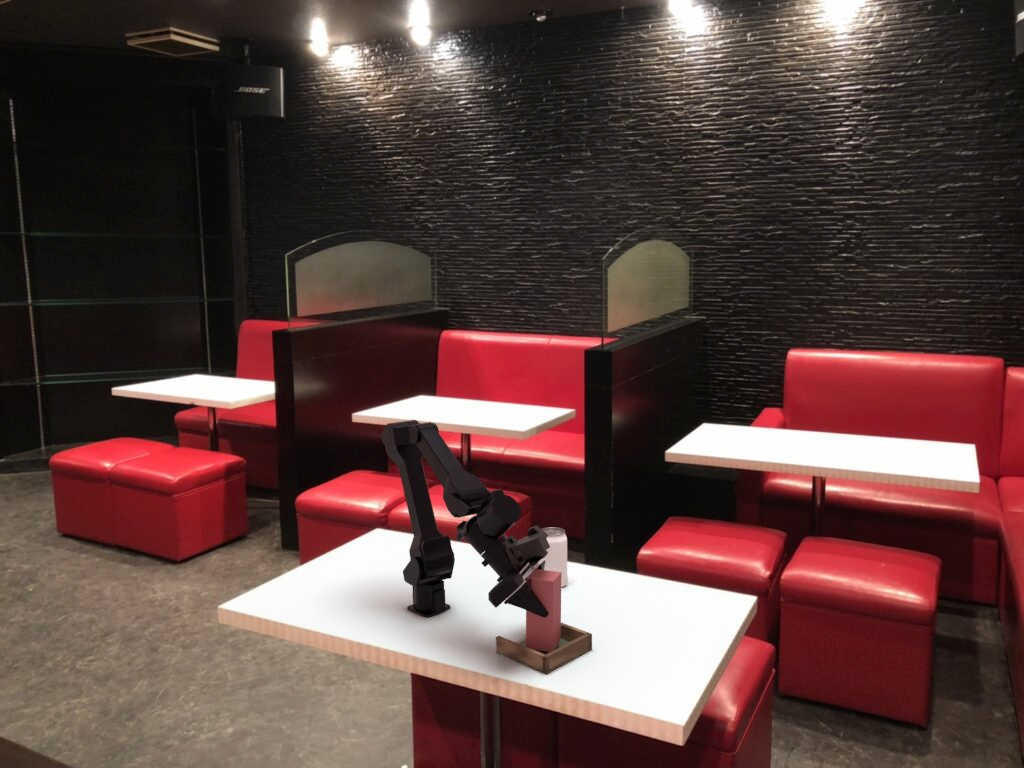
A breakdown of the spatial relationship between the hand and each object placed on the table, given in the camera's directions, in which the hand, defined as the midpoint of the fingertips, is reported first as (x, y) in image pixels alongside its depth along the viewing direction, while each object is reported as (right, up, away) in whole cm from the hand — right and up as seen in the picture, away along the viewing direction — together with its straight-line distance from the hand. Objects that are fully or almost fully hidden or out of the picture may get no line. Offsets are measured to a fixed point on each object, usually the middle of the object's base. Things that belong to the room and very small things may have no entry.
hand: (551, 609), depth 151 cm
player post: (-1, -7, +1) cm, 7 cm away
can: (+2, -4, +34) cm, 34 cm away
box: (-1, -8, +2) cm, 8 cm away
